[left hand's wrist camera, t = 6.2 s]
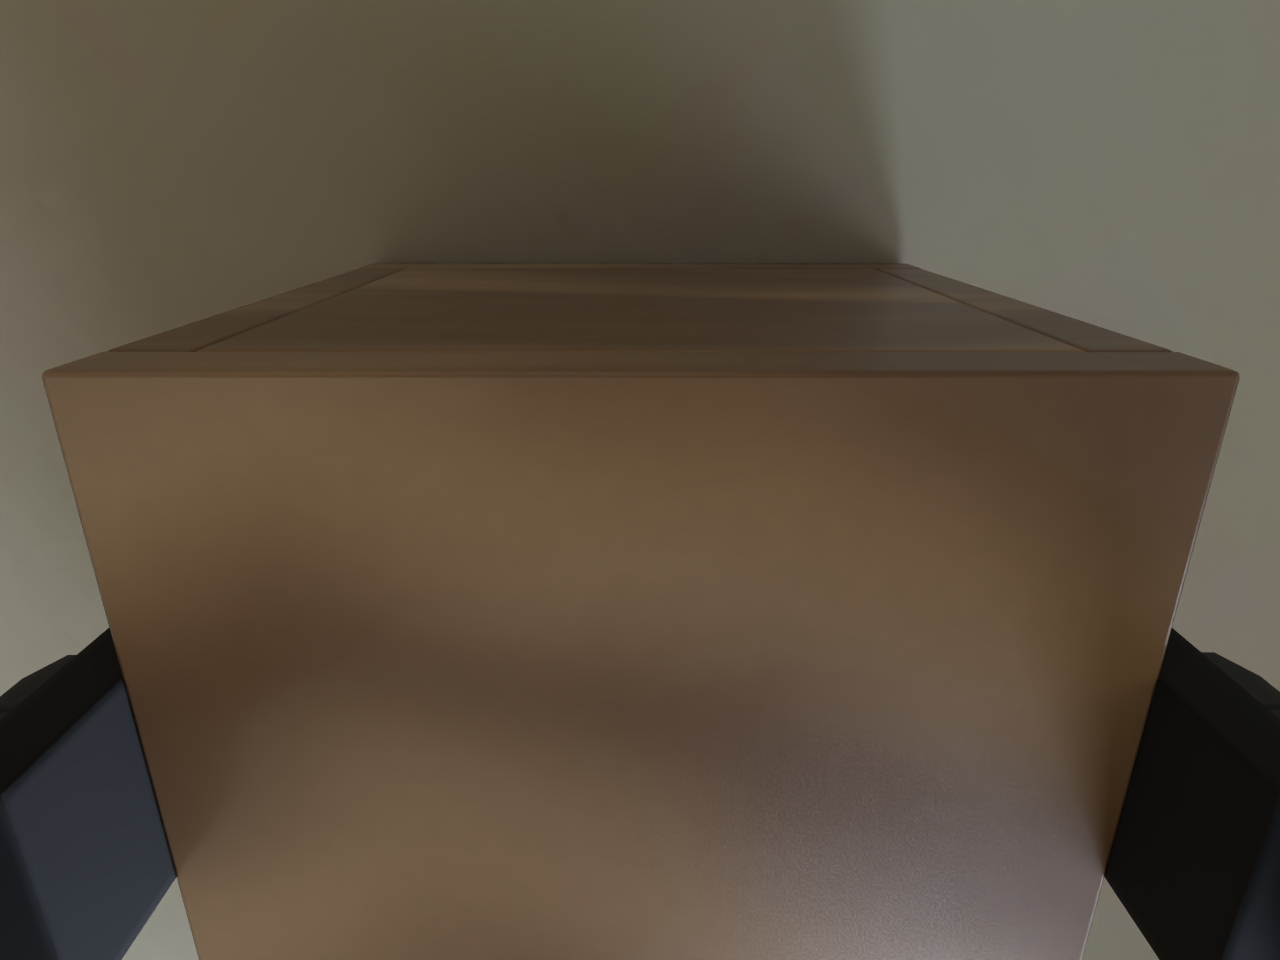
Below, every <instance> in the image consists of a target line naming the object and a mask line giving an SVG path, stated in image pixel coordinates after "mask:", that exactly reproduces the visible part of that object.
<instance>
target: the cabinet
mask: <svg viewBox="0 0 1280 960" xmlns="http://www.w3.org/2000/svg"><path fill="white" fill-rule="evenodd" d="M42 379H43V382H44V386H45V390H46V394H47V397H48V401H49V405H50V408H51V412H52V416H53V420H54V423H55V427H56V431H57V434H58V438H59V442H60V445H61V449H62V453H63V457H64V460H65V464H66V468H67V471H68V475H69V479H70V483H71V486H72V490H73V494H74V497H75V501H76V505H77V509H78V512H79V516H80V520H81V523H82V527H83V531H84V534H85V538H86V542H87V546H88V549H89V553H90V557H91V560H92V564H93V568H94V572H95V575H96V579H97V583H98V586H99V590H100V594H101V598H102V601H103V605H104V609H105V612H106V616H107V620H108V624H109V627H110V631H111V635H112V638H113V642H114V646H115V649H116V653H117V657H118V661H119V664H120V668H121V672H122V675H123V679H124V683H125V687H126V690H127V694H128V698H129V701H130V705H131V709H132V713H133V716H134V720H135V724H136V727H137V731H138V735H139V739H140V742H141V746H142V750H143V753H144V757H145V761H146V764H147V768H148V772H149V776H150V779H151V783H152V787H153V790H154V794H155V798H156V802H157V805H158V809H159V813H160V816H161V820H162V824H163V828H164V831H165V835H166V839H167V842H168V846H169V850H170V853H171V857H172V861H173V865H174V868H175V872H176V876H177V879H178V883H179V887H180V891H181V894H182V898H183V902H184V905H185V909H186V913H187V917H188V920H189V924H190V928H191V931H192V935H193V939H194V943H195V946H196V950H197V954H198V957H199V960H1082V957H1083V953H1084V949H1085V946H1086V942H1087V938H1088V935H1089V931H1090V927H1091V924H1092V920H1093V916H1094V912H1095V909H1096V905H1097V901H1098V898H1099V894H1100V890H1101V887H1102V883H1103V879H1104V876H1105V872H1106V868H1107V865H1108V861H1109V857H1110V853H1111V850H1112V846H1113V842H1114V839H1115V835H1116V831H1117V828H1118V824H1119V820H1120V817H1121V813H1122V809H1123V806H1124V802H1125V798H1126V794H1127V791H1128V787H1129V783H1130V780H1131V776H1132V772H1133V769H1134V765H1135V761H1136V758H1137V754H1138V750H1139V747H1140V743H1141V739H1142V735H1143V732H1144V728H1145V724H1146V721H1147V717H1148V713H1149V710H1150V706H1151V702H1152V699H1153V695H1154V691H1155V688H1156V684H1157V680H1158V676H1159V673H1160V669H1161V665H1162V662H1163V658H1164V654H1165V651H1166V647H1167V643H1168V640H1169V636H1170V632H1171V629H1172V625H1173V621H1174V617H1175V614H1176V610H1177V606H1178V603H1179V599H1180V595H1181V592H1182V588H1183V584H1184V581H1185V577H1186V573H1187V570H1188V566H1189V562H1190V559H1191V555H1192V551H1193V547H1194V544H1195V540H1196V536H1197V533H1198V529H1199V525H1200V522H1201V518H1202V514H1203V511H1204V507H1205V503H1206V500H1207V496H1208V492H1209V488H1210V485H1211V481H1212V477H1213V474H1214V470H1215V466H1216V463H1217V459H1218V455H1219V452H1220V448H1221V444H1222V441H1223V437H1224V433H1225V429H1226V426H1227V422H1228V418H1229V415H1230V411H1231V407H1232V404H1233V400H1234V396H1235V393H1236V389H1237V385H1238V382H1239V373H1238V372H1236V371H1234V370H1231V369H1228V368H1225V367H1222V366H1219V365H1216V364H1213V363H1210V362H1207V361H1204V360H1201V359H1198V358H1195V357H1191V356H1188V355H1185V354H1182V353H1179V352H1173V351H1171V350H1168V349H1165V348H1162V347H1159V346H1156V345H1153V344H1150V343H1147V342H1144V341H1141V340H1138V339H1135V338H1132V337H1129V336H1126V335H1122V334H1119V333H1116V332H1113V331H1110V330H1107V329H1104V328H1101V327H1098V326H1095V325H1092V324H1089V323H1086V322H1083V321H1079V320H1076V319H1073V318H1070V317H1067V316H1064V315H1061V314H1058V313H1055V312H1052V311H1049V310H1046V309H1043V308H1039V307H1036V306H1033V305H1030V304H1027V303H1024V302H1021V301H1018V300H1015V299H1012V298H1009V297H1006V296H1003V295H1000V294H996V293H993V292H990V291H987V290H984V289H981V288H978V287H975V286H972V285H969V284H966V283H963V282H960V281H957V280H953V279H950V278H947V277H944V276H941V275H938V274H935V273H932V272H929V271H926V270H923V269H920V268H918V267H915V266H912V265H909V264H371V265H368V266H365V267H362V268H360V269H357V270H354V271H351V272H348V273H344V274H341V275H338V276H335V277H332V278H329V279H326V280H323V281H320V282H317V283H314V284H311V285H308V286H305V287H301V288H298V289H295V290H292V291H289V292H286V293H283V294H280V295H277V296H274V297H271V298H268V299H265V300H262V301H258V302H255V303H252V304H249V305H246V306H243V307H240V308H237V309H234V310H231V311H228V312H225V313H222V314H219V315H215V316H212V317H209V318H206V319H203V320H200V321H197V322H194V323H191V324H188V325H185V326H182V327H179V328H176V329H172V330H169V331H166V332H163V333H160V334H157V335H154V336H151V337H148V338H145V339H142V340H139V341H136V342H133V343H130V344H126V345H123V346H120V347H117V348H114V349H111V350H109V351H107V352H101V353H98V354H95V355H92V356H89V357H86V358H83V359H80V360H77V361H74V362H71V363H68V364H64V365H61V366H58V367H55V368H52V369H49V370H47V371H45V372H44V373H43V375H42Z"/></svg>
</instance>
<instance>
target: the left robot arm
mask: <svg viewBox="0 0 1280 960" xmlns="http://www.w3.org/2000/svg"><path fill="white" fill-rule="evenodd" d="M176 877H177V876H176V872H175V868H174V865H173V861H172V857H171V853H170V850H169V846H168V842H167V839H166V835H165V831H164V828H163V824H162V820H161V816H160V813H159V809H158V805H157V802H156V798H155V794H154V790H153V787H152V783H151V779H150V776H149V772H148V768H147V764H146V761H145V757H144V753H143V750H142V746H141V742H140V739H139V735H138V731H137V727H136V724H135V720H134V716H133V713H132V709H131V705H130V701H129V698H128V694H127V690H126V687H125V683H124V679H123V675H122V672H121V668H120V664H119V661H118V657H117V653H116V649H115V646H114V642H113V638H112V635H111V631H110V627H109V628H108V629H107V630H106V631H105V632H104V633H102V634H101V635H100V636H99V637H98V638H96V639H95V640H94V641H93V642H92V643H91V644H89V645H88V646H87V647H86V648H85V649H83V650H82V651H81V652H80V653H79V654H77V655H67V656H65V657H63V658H61V659H59V660H58V661H56V662H54V663H52V664H50V665H48V666H46V667H44V668H42V669H40V670H38V671H36V672H34V673H33V674H31V675H29V676H27V677H25V678H23V679H21V680H20V681H19V682H18V683H16V684H15V685H14V686H13V687H12V688H10V689H9V690H8V691H7V692H5V693H4V694H3V695H2V696H0V960H121V959H122V958H123V956H124V955H125V953H126V952H127V950H128V949H129V947H130V946H131V944H132V943H133V941H134V940H135V938H136V937H137V935H138V934H139V932H140V931H141V929H142V928H143V926H144V925H145V923H146V922H147V920H148V919H149V917H150V916H151V914H152V913H153V911H154V910H155V908H156V907H157V905H158V904H159V902H160V901H161V899H162V898H163V896H164V895H165V893H166V892H167V890H168V889H169V887H170V886H171V884H172V883H173V881H174V880H175V878H176ZM1104 877H1105V878H1106V880H1107V881H1108V883H1109V884H1110V886H1111V887H1112V889H1113V890H1114V892H1115V893H1116V895H1117V896H1118V898H1119V899H1120V901H1121V902H1122V904H1123V905H1124V907H1125V908H1126V910H1127V911H1128V913H1129V914H1130V916H1131V917H1132V919H1133V920H1134V922H1135V923H1136V925H1137V926H1138V928H1139V929H1140V931H1141V932H1142V934H1143V935H1144V937H1145V938H1146V940H1147V941H1148V943H1149V944H1150V946H1151V948H1152V949H1153V951H1154V952H1155V954H1156V955H1157V957H1158V958H1159V960H1280V692H1279V691H1278V690H1277V689H1275V688H1274V687H1273V686H1272V685H1270V684H1269V683H1268V682H1267V681H1265V680H1264V679H1263V678H1262V677H1260V676H1259V675H1257V674H1255V673H1253V672H1251V671H1249V670H1247V669H1245V668H1243V667H1241V666H1239V665H1237V664H1235V663H1233V662H1232V661H1230V660H1228V659H1226V658H1224V657H1222V656H1220V655H1218V654H1216V653H1201V652H1200V651H1199V650H1198V649H1196V648H1195V647H1194V646H1193V645H1192V644H1190V643H1189V642H1188V641H1187V640H1186V639H1185V638H1183V637H1182V636H1181V635H1180V634H1179V633H1177V632H1176V631H1175V630H1174V629H1173V628H1172V629H1171V632H1170V636H1169V640H1168V643H1167V647H1166V651H1165V654H1164V658H1163V662H1162V665H1161V669H1160V673H1159V676H1158V680H1157V684H1156V688H1155V691H1154V695H1153V699H1152V702H1151V706H1150V710H1149V713H1148V717H1147V721H1146V724H1145V728H1144V732H1143V735H1142V739H1141V743H1140V747H1139V750H1138V754H1137V758H1136V761H1135V765H1134V769H1133V772H1132V776H1131V780H1130V783H1129V787H1128V791H1127V794H1126V798H1125V802H1124V806H1123V809H1122V813H1121V817H1120V820H1119V824H1118V828H1117V831H1116V835H1115V839H1114V842H1113V846H1112V850H1111V853H1110V857H1109V861H1108V865H1107V868H1106V872H1105V876H1104Z"/></svg>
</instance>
